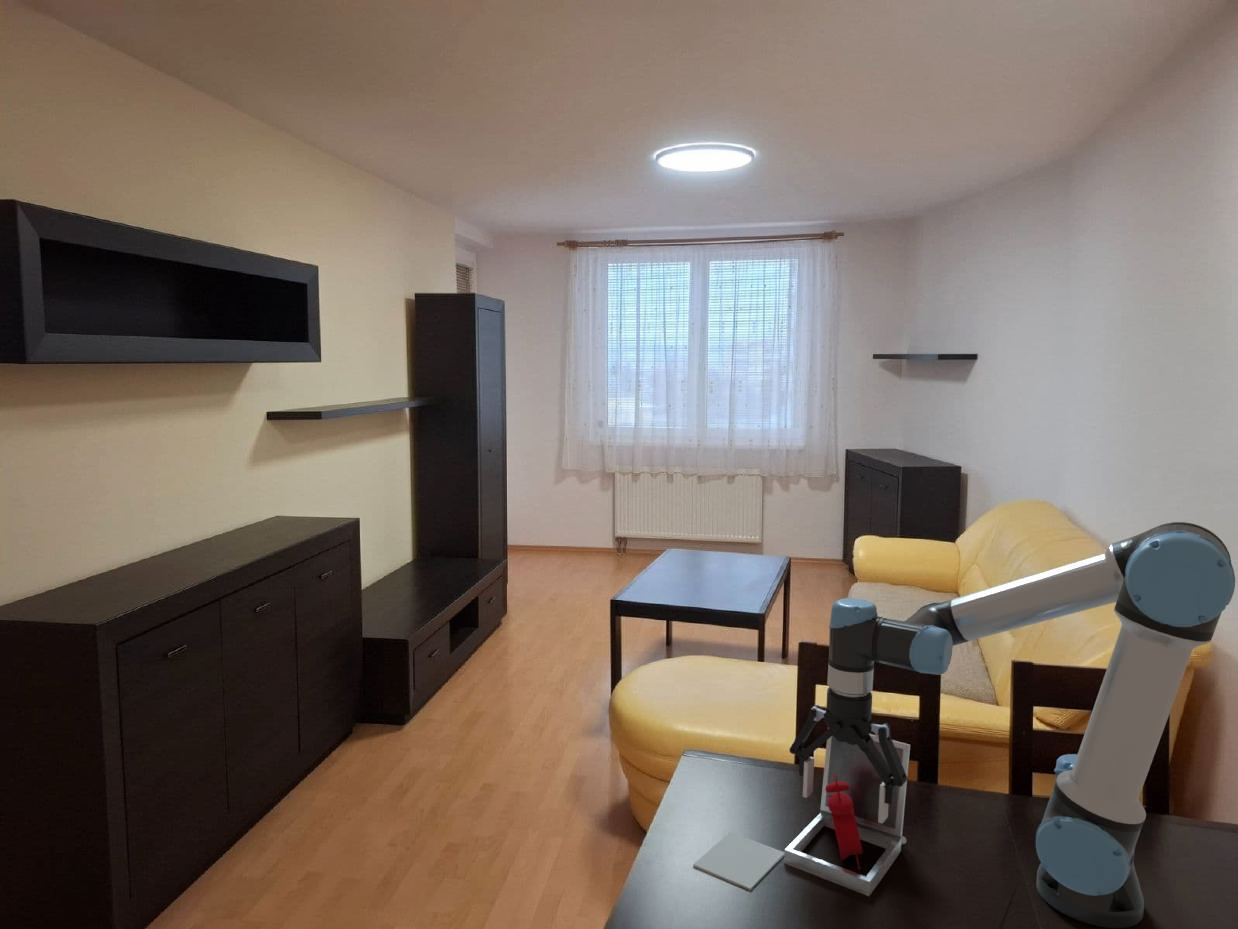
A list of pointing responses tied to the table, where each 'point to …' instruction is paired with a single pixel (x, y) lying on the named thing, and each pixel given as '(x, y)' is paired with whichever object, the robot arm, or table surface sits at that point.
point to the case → (839, 874)
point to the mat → (739, 860)
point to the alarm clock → (844, 820)
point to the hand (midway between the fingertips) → (844, 807)
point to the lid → (864, 782)
